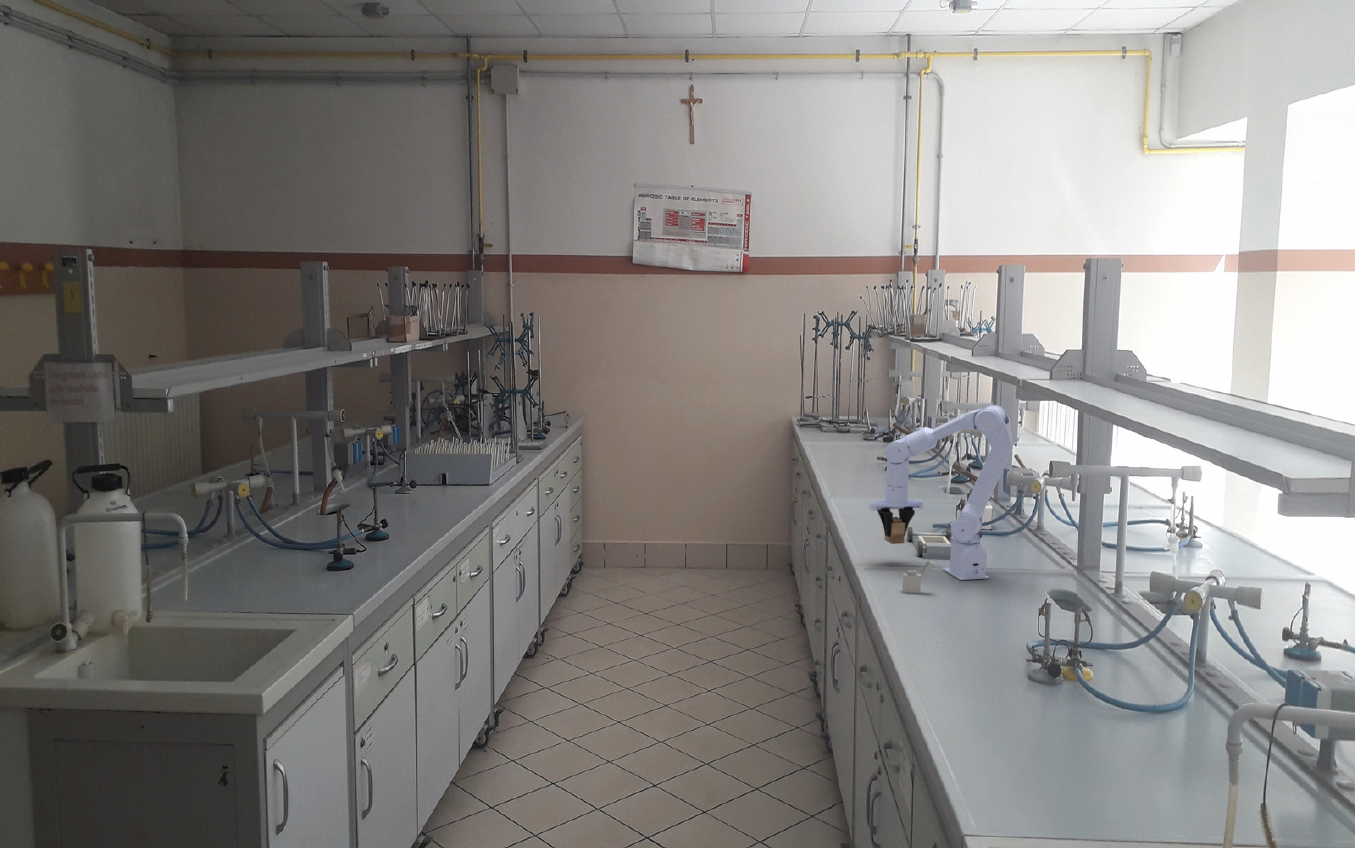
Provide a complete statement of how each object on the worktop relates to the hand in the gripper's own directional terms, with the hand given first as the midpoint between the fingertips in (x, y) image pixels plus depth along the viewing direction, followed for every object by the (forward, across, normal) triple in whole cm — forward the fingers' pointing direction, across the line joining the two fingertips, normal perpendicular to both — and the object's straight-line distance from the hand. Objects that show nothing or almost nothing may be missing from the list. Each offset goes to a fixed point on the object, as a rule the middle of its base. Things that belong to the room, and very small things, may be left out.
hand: (894, 535), depth 256 cm
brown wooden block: (+2, 0, 0) cm, 2 cm away
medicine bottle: (+8, -44, -33) cm, 56 cm away
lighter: (+8, +5, +24) cm, 26 cm away
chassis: (+8, -18, -12) cm, 23 cm away
